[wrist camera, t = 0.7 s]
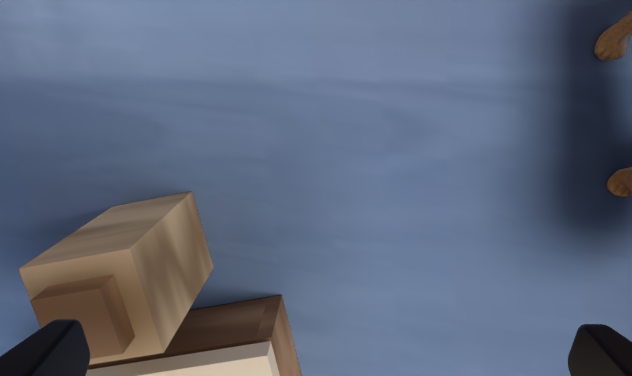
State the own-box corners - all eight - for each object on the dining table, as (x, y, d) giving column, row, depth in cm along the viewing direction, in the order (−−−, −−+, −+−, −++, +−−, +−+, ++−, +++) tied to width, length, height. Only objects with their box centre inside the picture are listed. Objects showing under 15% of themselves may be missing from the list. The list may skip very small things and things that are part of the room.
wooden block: (213, 268, 24) (153, 371, 16) (137, 281, 24) (41, 388, 16) (192, 191, 23) (116, 260, 15) (112, 206, 23) (-2, 282, 15)
